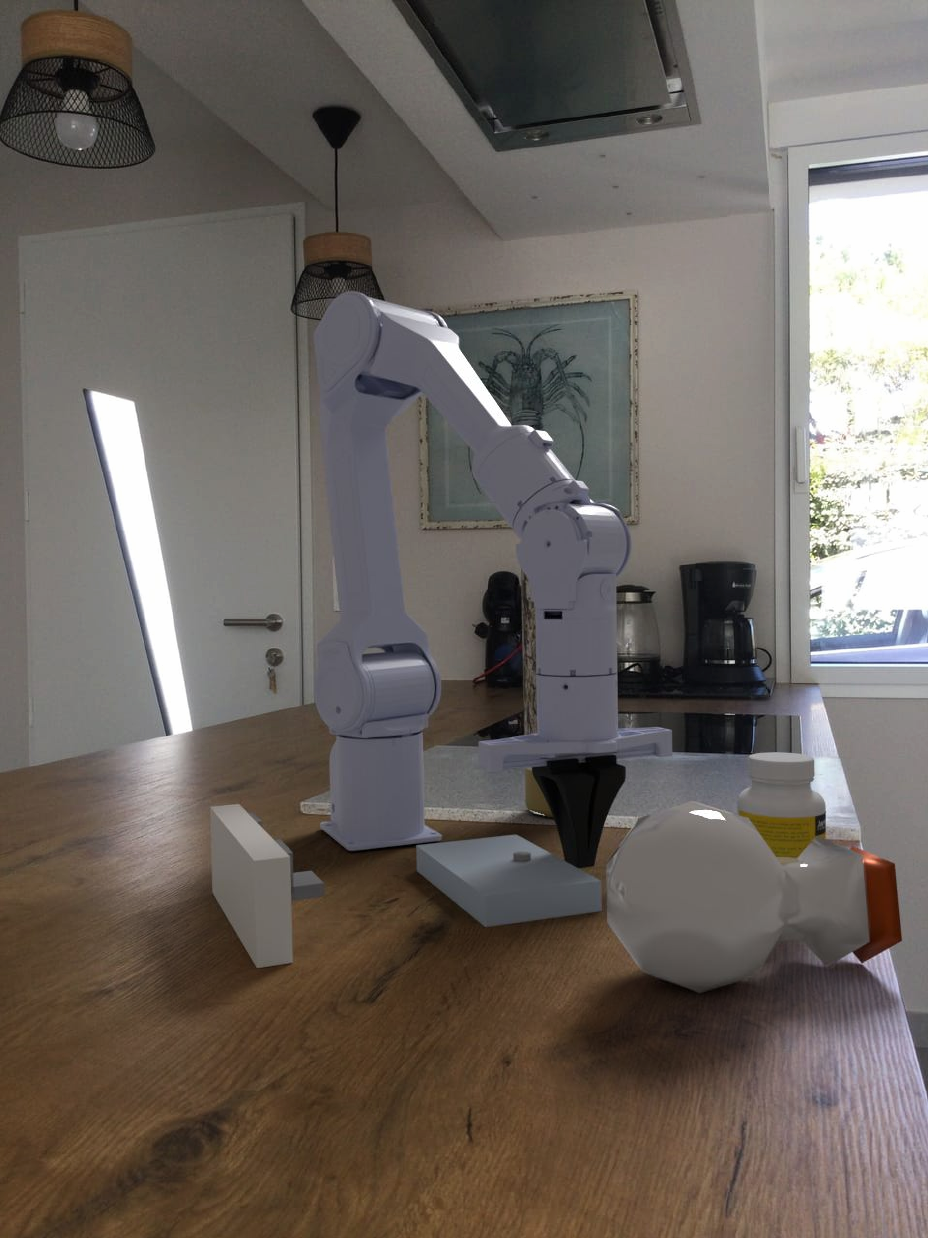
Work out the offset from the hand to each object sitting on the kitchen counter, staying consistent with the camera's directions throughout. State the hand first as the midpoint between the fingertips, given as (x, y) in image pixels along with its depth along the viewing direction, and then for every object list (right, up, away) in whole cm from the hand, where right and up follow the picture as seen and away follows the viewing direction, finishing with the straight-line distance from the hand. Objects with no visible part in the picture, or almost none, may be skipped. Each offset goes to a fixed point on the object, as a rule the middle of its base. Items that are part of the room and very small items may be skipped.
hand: (579, 864), depth 75 cm
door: (-6, -2, -2) cm, 6 cm away
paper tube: (+1, -1, +22) cm, 22 cm away
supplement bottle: (+12, -1, -8) cm, 15 cm away
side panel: (-21, -2, -8) cm, 22 cm away
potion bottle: (+7, -2, -19) cm, 20 cm away
